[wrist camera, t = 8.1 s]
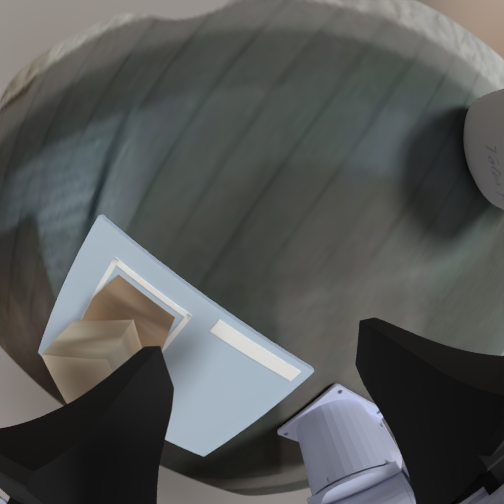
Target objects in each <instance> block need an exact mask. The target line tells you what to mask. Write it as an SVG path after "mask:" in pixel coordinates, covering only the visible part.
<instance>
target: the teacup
mask: <svg viewBox="0 0 504 504" xmlns="http://www.w3.org/2000/svg"><path fill="white" fill-rule="evenodd" d="M463 139H464V151H465V157H466V161H467V164H468V167H469V170H470V172H471V174H472V176H473V178H474V180H475V182H476V184H477V186H478V188H479V190H480V191H481V192H482V194H483V195H484V196H485V197H486V198H487V200H488V201H490V202H491V203H492V204H493V205H495V206H497V207H499V208H501V209H504V89H501V90H498V91H495V92H492V93H489V94H487V95H484V96H482V97H480V98H478V99H477V100H476V101H475V102H474V103H473V104H472V105H471V106H470V108H469V110H468V112H467V115H466V118H465V124H464V137H463Z"/></svg>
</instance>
